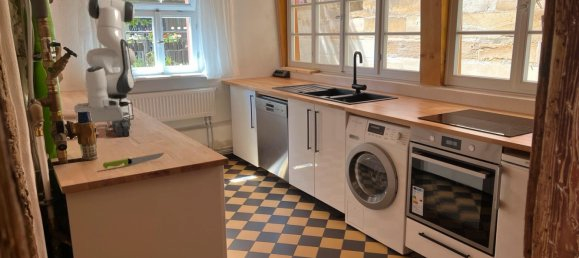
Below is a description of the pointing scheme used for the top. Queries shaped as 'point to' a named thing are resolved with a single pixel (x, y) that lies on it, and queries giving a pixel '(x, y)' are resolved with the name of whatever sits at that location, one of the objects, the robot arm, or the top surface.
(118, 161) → the kitchen knife
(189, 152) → the top surface
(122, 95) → the french press
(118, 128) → the tongs base
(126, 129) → the tongs arm
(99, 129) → the lock clip
